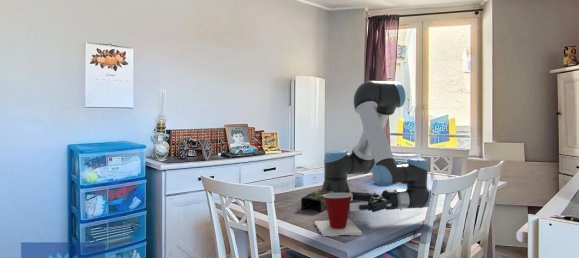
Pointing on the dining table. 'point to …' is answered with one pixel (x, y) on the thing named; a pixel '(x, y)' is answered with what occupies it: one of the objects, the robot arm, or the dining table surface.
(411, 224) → the dining table surface
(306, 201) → the olive boxy piece
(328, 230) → the cream tile
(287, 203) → the dining table surface
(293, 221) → the dining table surface
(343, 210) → the plastic cup
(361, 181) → the dining table surface
